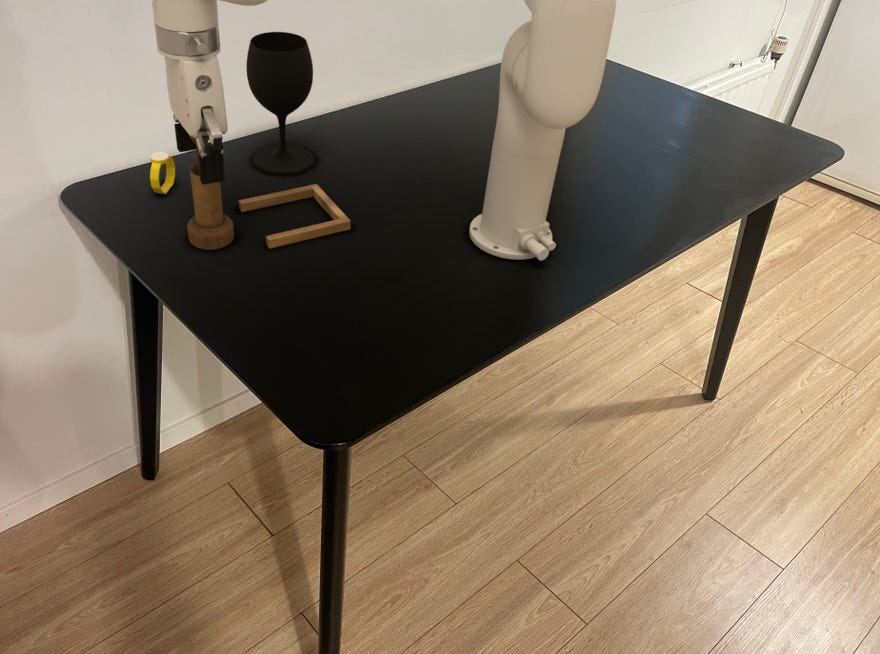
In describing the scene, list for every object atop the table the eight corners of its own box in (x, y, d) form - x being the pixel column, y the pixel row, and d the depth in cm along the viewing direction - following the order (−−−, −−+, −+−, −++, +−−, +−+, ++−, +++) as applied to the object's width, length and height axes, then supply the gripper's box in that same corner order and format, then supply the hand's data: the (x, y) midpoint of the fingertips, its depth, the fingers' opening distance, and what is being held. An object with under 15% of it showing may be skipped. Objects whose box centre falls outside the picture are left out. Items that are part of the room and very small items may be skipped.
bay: (350, 229, 118) (350, 220, 117) (269, 249, 113) (268, 240, 112) (316, 192, 126) (316, 183, 125) (238, 208, 120) (238, 200, 119)
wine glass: (288, 141, 138) (284, 25, 125) (326, 163, 133) (326, 44, 120) (240, 157, 133) (230, 38, 119) (277, 181, 127) (272, 59, 114)
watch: (165, 179, 125) (159, 145, 122) (181, 182, 125) (176, 148, 121) (148, 197, 121) (142, 162, 117) (165, 200, 121) (160, 165, 117)
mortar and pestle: (224, 253, 111) (212, 135, 99) (181, 245, 112) (164, 127, 100) (240, 229, 116) (231, 114, 104) (199, 222, 117) (185, 107, 105)
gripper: (243, 59, 91) (250, 190, 102) (195, 12, 102) (206, 134, 113) (179, 67, 88) (194, 200, 99) (137, 17, 99) (154, 142, 110)
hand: (200, 165), depth 106 cm, fingers open, 9 cm apart
